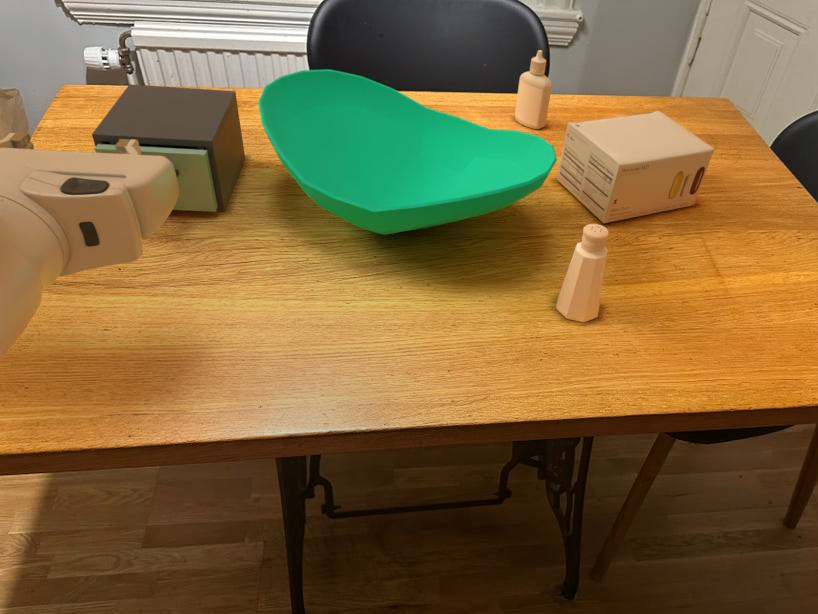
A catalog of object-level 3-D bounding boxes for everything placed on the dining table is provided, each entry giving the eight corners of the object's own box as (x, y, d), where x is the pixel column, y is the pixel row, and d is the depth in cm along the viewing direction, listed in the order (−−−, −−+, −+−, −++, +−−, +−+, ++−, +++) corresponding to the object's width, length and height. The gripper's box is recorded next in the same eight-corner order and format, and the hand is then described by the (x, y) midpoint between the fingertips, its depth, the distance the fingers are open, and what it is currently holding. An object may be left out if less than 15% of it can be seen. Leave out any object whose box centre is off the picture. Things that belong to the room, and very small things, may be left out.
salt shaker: (592, 293, 85) (612, 215, 78) (605, 322, 81) (628, 243, 74) (549, 294, 84) (566, 216, 77) (561, 323, 80) (579, 244, 73)
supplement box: (604, 226, 97) (619, 164, 90) (554, 180, 105) (565, 121, 99) (696, 206, 103) (717, 147, 97) (643, 164, 112) (659, 108, 105)
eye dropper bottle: (523, 131, 116) (533, 57, 108) (512, 116, 120) (521, 44, 112) (547, 129, 118) (559, 57, 109) (535, 115, 121) (546, 44, 113)
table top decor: (217, 208, 91) (198, 109, 82) (348, 135, 110) (345, 48, 100) (478, 324, 79) (490, 224, 70) (576, 220, 97) (596, 130, 88)
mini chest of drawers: (224, 211, 91) (211, 141, 84) (113, 206, 89) (91, 134, 83) (245, 157, 101) (235, 91, 95) (146, 152, 100) (129, 84, 93)
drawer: (207, 233, 85) (195, 174, 80) (99, 228, 84) (79, 168, 78) (236, 160, 99) (227, 106, 93) (143, 155, 97) (129, 100, 92)
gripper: (-112, 252, 55) (-30, 169, 65) (159, 261, 57) (197, 180, 68) (-153, 179, 51) (-59, 102, 61) (141, 193, 53) (184, 117, 63)
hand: (77, 143), depth 64 cm, fingers open, 8 cm apart
